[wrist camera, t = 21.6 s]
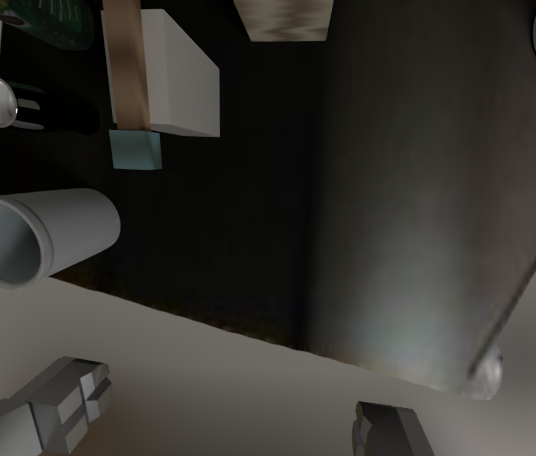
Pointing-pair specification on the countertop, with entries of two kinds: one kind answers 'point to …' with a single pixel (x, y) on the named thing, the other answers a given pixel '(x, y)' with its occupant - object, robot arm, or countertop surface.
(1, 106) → the beer glass
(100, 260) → the countertop surface
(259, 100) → the countertop surface
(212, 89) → the pedestal
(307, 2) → the brown boxy piece
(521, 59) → the countertop surface
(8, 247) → the utensil holder
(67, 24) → the coffee jar
